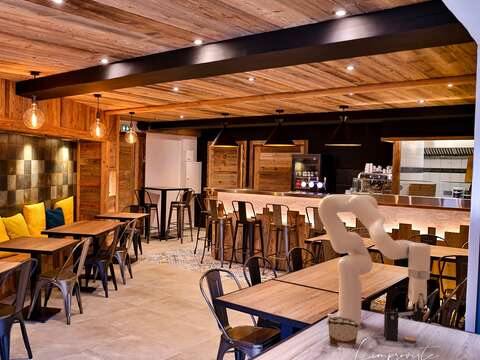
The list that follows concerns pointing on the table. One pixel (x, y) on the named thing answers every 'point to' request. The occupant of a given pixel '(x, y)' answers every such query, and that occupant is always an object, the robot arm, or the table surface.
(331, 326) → the food container
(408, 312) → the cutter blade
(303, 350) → the table surface
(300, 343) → the table surface
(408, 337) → the cake
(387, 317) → the black upright box
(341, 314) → the robot arm
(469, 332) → the table surface
